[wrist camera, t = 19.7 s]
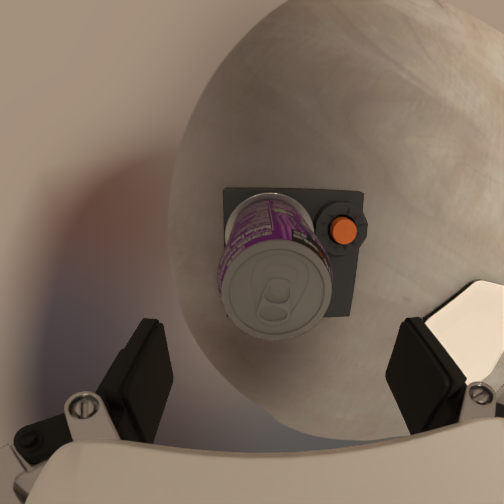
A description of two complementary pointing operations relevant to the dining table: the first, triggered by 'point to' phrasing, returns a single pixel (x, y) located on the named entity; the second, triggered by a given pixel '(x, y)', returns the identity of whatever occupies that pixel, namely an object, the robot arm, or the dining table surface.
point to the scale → (321, 232)
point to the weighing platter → (264, 197)
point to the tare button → (343, 230)
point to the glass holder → (500, 395)
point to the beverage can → (274, 273)
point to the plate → (472, 328)
